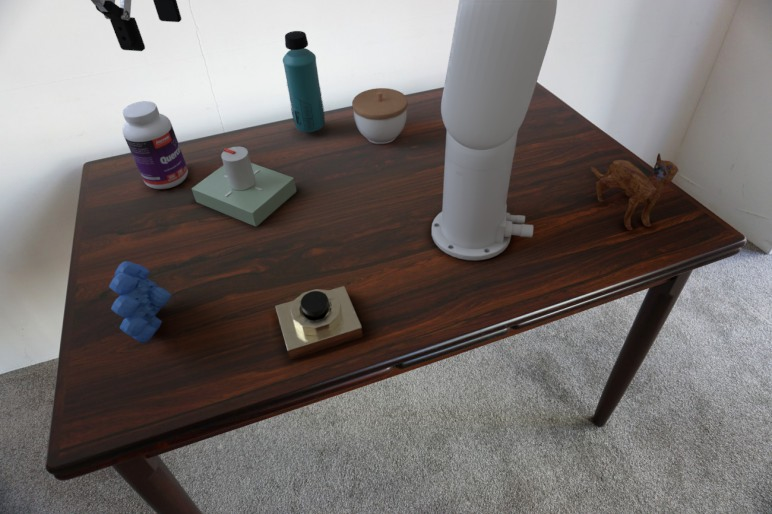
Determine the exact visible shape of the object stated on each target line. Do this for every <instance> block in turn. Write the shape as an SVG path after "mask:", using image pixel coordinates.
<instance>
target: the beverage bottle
mask: <svg viewBox="0 0 772 514" xmlns="http://www.w3.org/2000/svg"><path fill="white" fill-rule="evenodd" d="M284 45H285V48H286V49H287V50H288V51H287V52H286V53H285V54H284V56H283V58H282V64H283V68H284V73H285V79H286V87H287V91H288V95H289V96H288V97H289V102H290V111H291V116H292V121H293V124H294V127H295V128H296V129H297V130H298V131H299V132H304V133H313V132H316V131H319V130H321V129H322V128H323V127H324V126H325V123H326V116H325V107H324V101H323V97H322V90H321V87H322V86H321V85H320V78H319V71H318V66H317V56H316V54H315V53H314V52H313V51H312V50H310V49H308V48H307V47H308V46H309V41H308V38H307V34H306V32H305V31H302V30H292V31H289V32H287V33H285V34H284Z"/></svg>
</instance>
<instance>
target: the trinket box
mask: <svg viewBox="0 0 772 514" xmlns="http://www.w3.org/2000/svg"><path fill="white" fill-rule="evenodd" d="M351 103H352V104H351V105H352V106H351V107H352V110H353V119H354V123H355V126H356V128H357V130H358V131H359V133H360V134H361V135H362V136H363V137H364V138H365V139H366V140H367V141H368V142H370V143H372V144H375V145H385V144H389V143H392V142H393V141H395V140H396V139H397V137H398V136H399V135H400V134H401V133H402V132H403V130H404V128H405V126H406V123H407V115H408V106H409V105H408V103H409V101H408V97H407V96H406V95H405V94H404V93H403V92H401V91H399V90H397V89H394V88H388V87H387V88H386V87H376V88H371V89H366V90H364V91H361V92H359V93H358V94H356V95H355V96H354V97H353V99H352V102H351Z"/></svg>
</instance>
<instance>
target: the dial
mask: <svg viewBox="0 0 772 514" xmlns="http://www.w3.org/2000/svg"><path fill="white" fill-rule="evenodd" d="M220 157H221V160H222V164H223V165H224V167H225V170H226V174H227V177H228V180H229V184H230V187H231V188H232V189H234V190H246V189H249V188H251V187H252V186H253V185H254V184H255V177H254V173H253V169H252V165H251V163H252V162H251V158H250V153H249V150H248V149H247V148H246V147H243V146H232V147H228V148H227V147H225V148H223V152H222V153H221V155H220Z"/></svg>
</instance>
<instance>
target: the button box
mask: <svg viewBox="0 0 772 514" xmlns="http://www.w3.org/2000/svg"><path fill="white" fill-rule="evenodd" d="M312 291H320V292H323V293H324V294H326V296H327V297H328V301H329V308H330V309H329V312H328V314H327V315H326V316H325V317H323V318H322V319H319V320H310V319H308V318H306V317H305V316H304V315H303V312H302V308H301V299H302V297H303V296H304V295H305V294H307V293H309V292H312ZM274 308H275V312H276V316H277V318H278V321H279V326H280V329H281V333H282V336H283V340H284V344H285V346H286V351H287V354H288V357H289V358H288V359H289V360H290V361H292V360H295V359H298V358H301V357H304V356H307V355H311V354H314V353H317V352H320V351H324V350H327V349H330V348H333V347H336V346H339V345H342V344H343V345H344V344H346V343H349V342H352V341H356V340H358V339H362V338H363V337H364V334H363V327H362V324H361V322H360V319H359V317H358V315H357V313H356V310H355V308H354V306H353V302H352V301H351V298H350V296H349V294H348V291H347V288H346V286H345V285H342V286H338V287H335V288H332V289H320V288H315V289H311V290H307V291H304V292H302V293H300V295H299V296H297V297H296V298H295V299H293V300H291V301H286V302H284V303H280V304H277V305H275V306H274Z"/></svg>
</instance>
